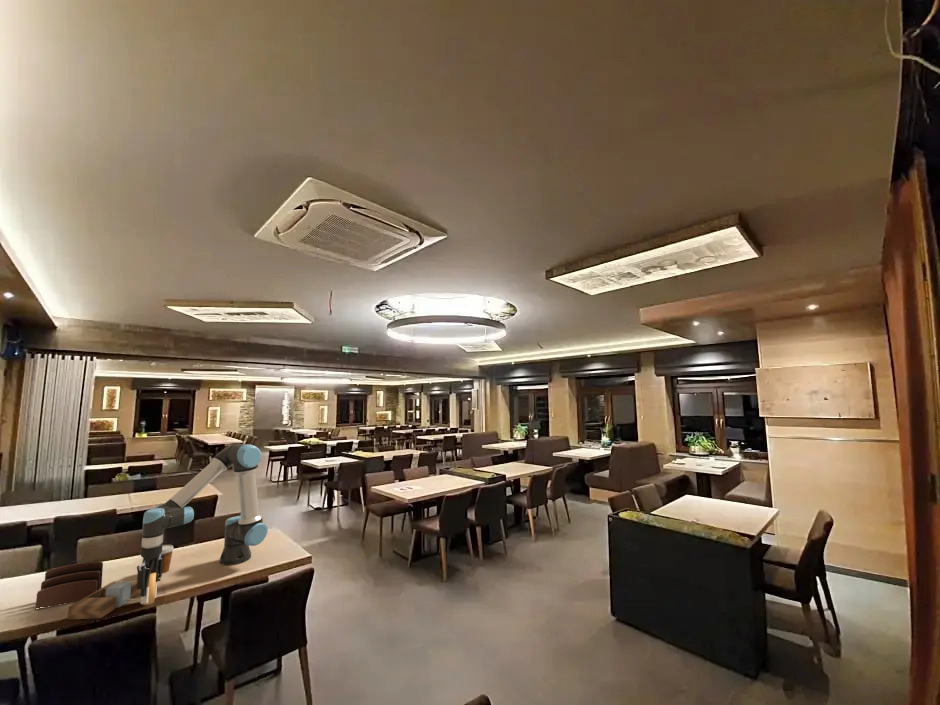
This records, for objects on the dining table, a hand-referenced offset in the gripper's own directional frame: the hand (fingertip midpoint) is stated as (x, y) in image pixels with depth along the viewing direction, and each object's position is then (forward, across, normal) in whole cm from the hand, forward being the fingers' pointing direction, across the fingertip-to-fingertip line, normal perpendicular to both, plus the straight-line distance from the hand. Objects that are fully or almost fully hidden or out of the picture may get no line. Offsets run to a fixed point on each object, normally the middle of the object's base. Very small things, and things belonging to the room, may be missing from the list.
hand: (148, 600), depth 179 cm
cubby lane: (+1, 0, -17) cm, 17 cm away
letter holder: (+2, -6, -39) cm, 39 cm away
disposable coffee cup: (+1, -33, -17) cm, 37 cm away
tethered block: (+1, 0, -7) cm, 7 cm away
